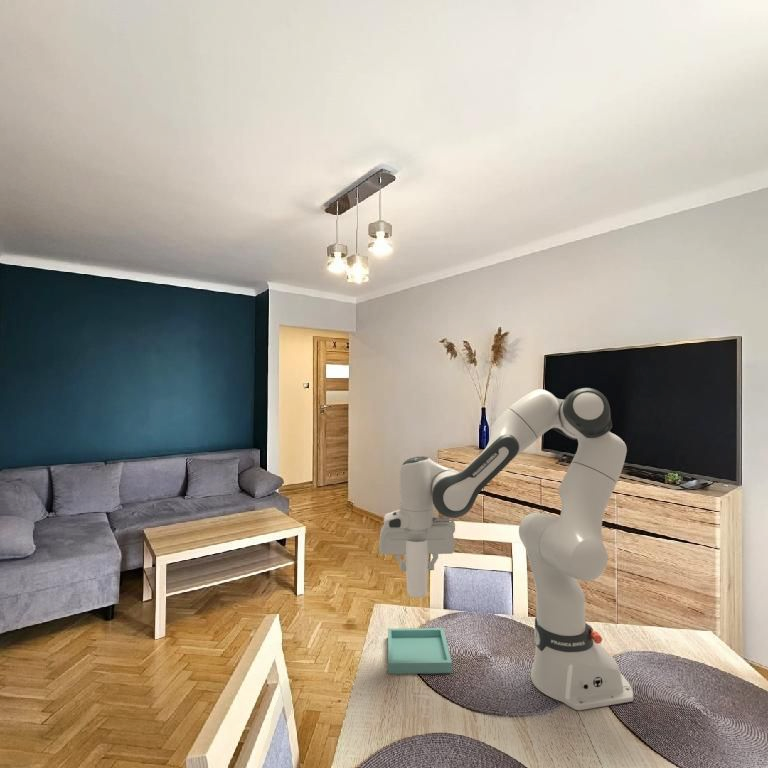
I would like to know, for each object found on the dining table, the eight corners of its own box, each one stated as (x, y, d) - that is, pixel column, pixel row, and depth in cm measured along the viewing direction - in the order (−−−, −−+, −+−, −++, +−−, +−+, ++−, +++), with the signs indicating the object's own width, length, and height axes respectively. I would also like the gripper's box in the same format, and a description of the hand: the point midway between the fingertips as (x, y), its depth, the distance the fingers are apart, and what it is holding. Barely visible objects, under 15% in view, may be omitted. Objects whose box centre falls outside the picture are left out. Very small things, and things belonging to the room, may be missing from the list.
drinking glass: (428, 601, 113) (427, 542, 113) (402, 599, 114) (401, 541, 114) (430, 589, 119) (429, 534, 120) (406, 587, 121) (405, 533, 121)
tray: (443, 637, 126) (443, 628, 126) (451, 673, 110) (451, 662, 110) (387, 637, 126) (387, 628, 126) (388, 673, 110) (388, 663, 110)
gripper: (453, 514, 120) (453, 564, 120) (378, 515, 120) (379, 565, 120) (457, 520, 114) (457, 574, 114) (378, 521, 114) (379, 575, 114)
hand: (416, 569), depth 117 cm, fingers closed on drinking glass, 6 cm apart
